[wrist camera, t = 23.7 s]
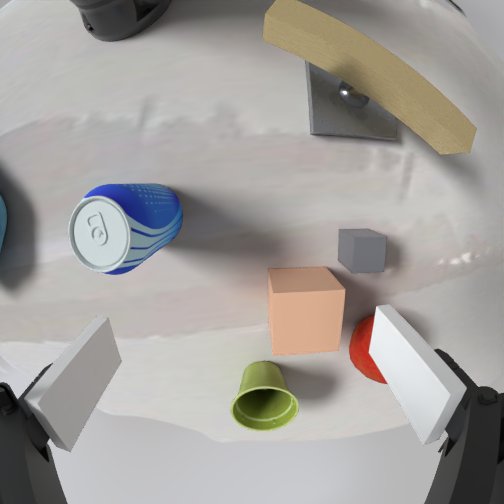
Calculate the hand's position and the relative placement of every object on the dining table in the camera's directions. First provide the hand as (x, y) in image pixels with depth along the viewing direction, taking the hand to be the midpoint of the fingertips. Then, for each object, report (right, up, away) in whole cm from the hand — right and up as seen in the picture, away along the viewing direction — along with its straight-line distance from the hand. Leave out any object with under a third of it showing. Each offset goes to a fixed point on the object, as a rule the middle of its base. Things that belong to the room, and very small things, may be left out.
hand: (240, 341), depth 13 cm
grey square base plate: (+14, +26, +20) cm, 35 cm away
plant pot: (+2, -16, +30) cm, 34 cm away
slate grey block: (+15, +5, +25) cm, 29 cm away
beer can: (-13, +9, +24) cm, 29 cm away
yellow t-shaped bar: (+14, +25, +18) cm, 34 cm away
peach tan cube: (+7, -2, +27) cm, 28 cm away
